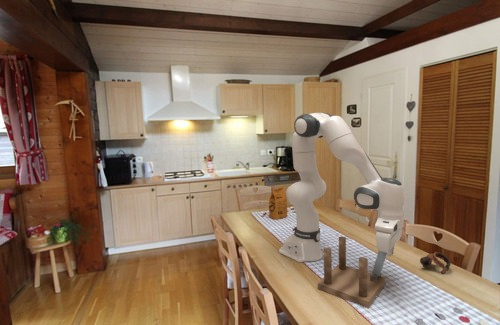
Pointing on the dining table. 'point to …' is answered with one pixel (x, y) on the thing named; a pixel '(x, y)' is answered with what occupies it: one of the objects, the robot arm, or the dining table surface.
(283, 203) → the coffee package
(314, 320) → the dining table surface
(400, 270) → the dining table surface
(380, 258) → the hinged leg
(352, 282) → the stool seat
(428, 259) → the pottery mug
